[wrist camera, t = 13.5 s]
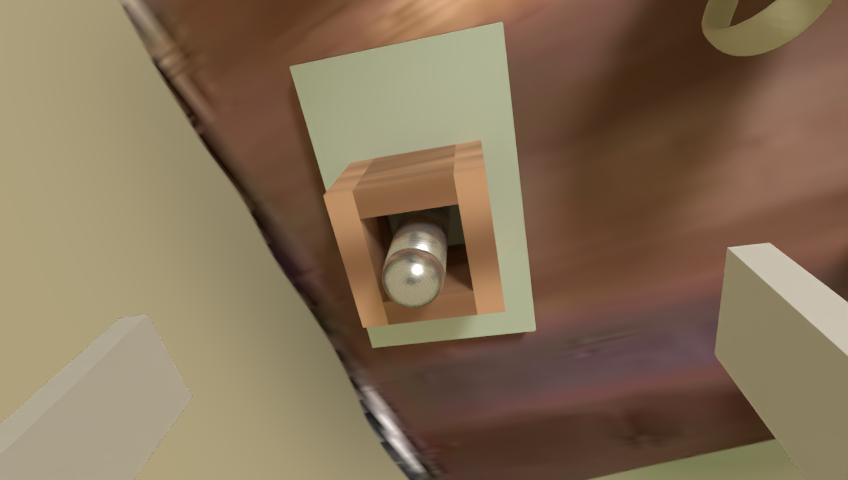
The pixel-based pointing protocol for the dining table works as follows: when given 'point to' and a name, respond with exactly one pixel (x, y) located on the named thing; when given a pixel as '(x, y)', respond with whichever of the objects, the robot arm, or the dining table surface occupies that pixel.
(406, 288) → the post
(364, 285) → the collar
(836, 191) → the dining table surface
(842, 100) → the dining table surface
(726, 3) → the mug
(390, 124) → the post plate
